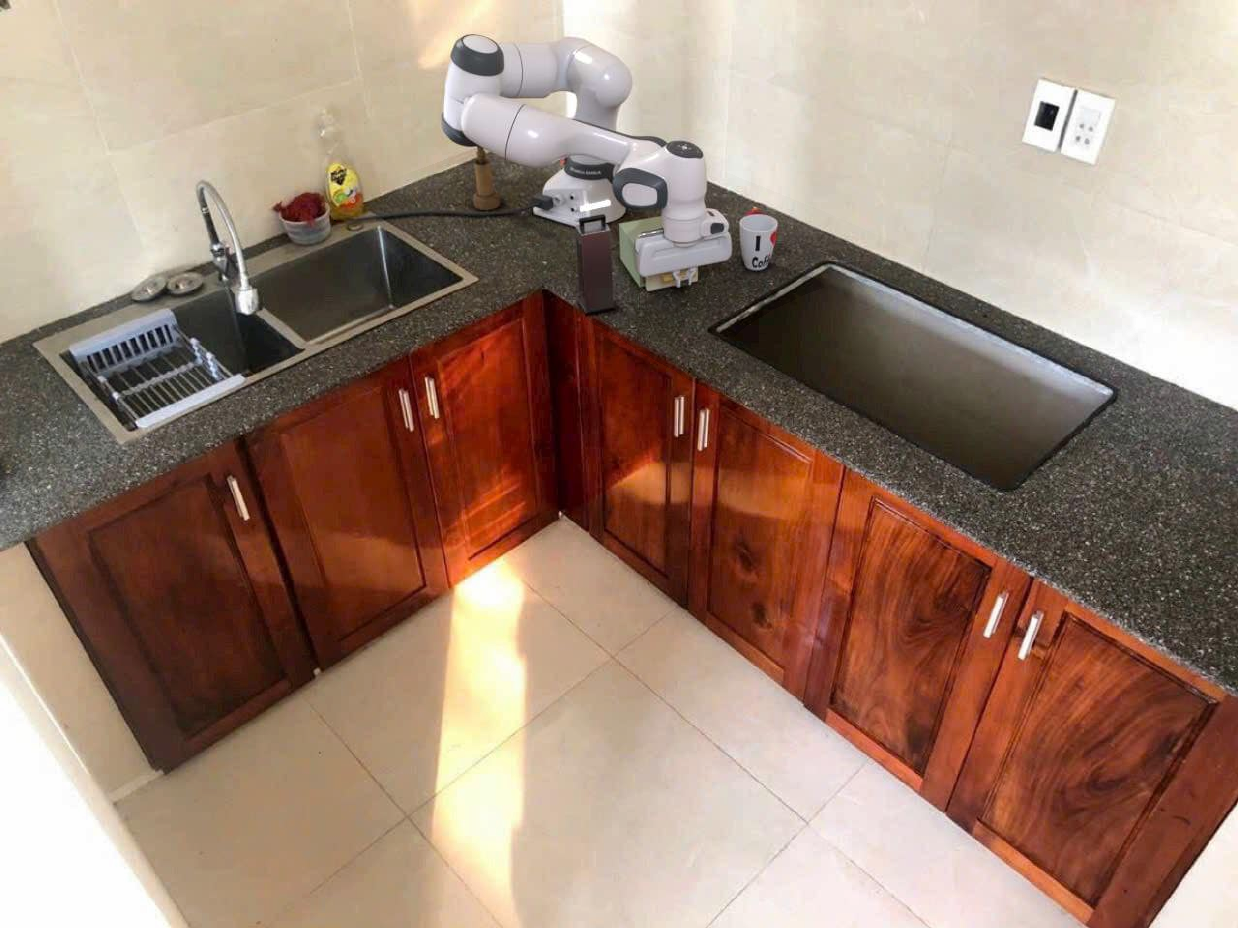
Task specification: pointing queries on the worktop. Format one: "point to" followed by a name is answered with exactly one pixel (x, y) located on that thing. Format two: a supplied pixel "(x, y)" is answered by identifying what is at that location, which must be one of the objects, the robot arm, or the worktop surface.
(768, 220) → the cup
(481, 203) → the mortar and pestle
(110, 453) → the worktop surface
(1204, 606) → the worktop surface
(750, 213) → the onion
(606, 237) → the grater
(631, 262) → the cabinet
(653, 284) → the drawer
